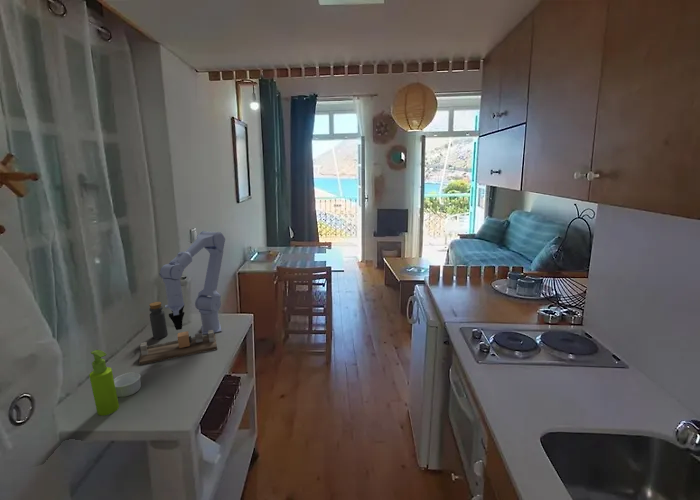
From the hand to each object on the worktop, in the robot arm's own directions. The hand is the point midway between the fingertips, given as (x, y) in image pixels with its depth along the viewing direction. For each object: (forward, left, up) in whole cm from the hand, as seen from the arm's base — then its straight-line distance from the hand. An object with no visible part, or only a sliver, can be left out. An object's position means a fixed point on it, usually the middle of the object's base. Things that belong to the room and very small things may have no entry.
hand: (179, 325), depth 164 cm
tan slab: (+2, -1, -9) cm, 10 cm away
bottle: (-16, -9, -10) cm, 21 cm away
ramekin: (+26, -17, -10) cm, 33 cm away
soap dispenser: (+36, -21, -10) cm, 43 cm away
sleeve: (+2, +1, -8) cm, 8 cm away
